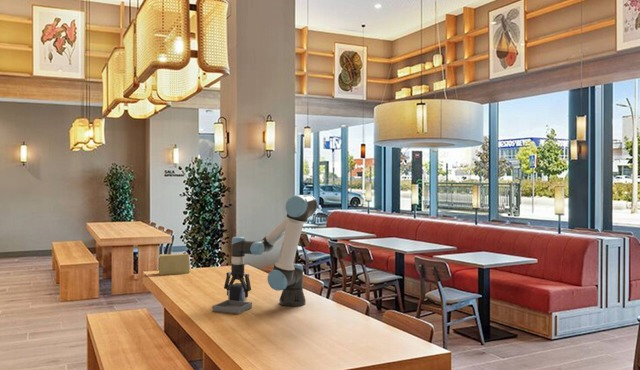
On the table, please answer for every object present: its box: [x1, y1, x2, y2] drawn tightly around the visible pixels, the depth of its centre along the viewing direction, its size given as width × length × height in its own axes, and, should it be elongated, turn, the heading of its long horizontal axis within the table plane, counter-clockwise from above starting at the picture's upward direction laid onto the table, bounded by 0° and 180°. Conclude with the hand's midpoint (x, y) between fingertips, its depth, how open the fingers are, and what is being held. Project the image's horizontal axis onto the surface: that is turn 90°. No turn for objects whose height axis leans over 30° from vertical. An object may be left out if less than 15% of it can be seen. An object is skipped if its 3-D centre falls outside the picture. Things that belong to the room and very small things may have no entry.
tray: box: [211, 299, 253, 315], centre depth 284 cm, size 16×16×3 cm
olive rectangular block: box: [158, 253, 191, 276], centre depth 392 cm, size 22×10×15 cm, turn 109°
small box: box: [229, 282, 245, 302], centre depth 301 cm, size 11×6×10 cm, turn 168°
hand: (237, 302), depth 301 cm, fingers open, 9 cm apart
